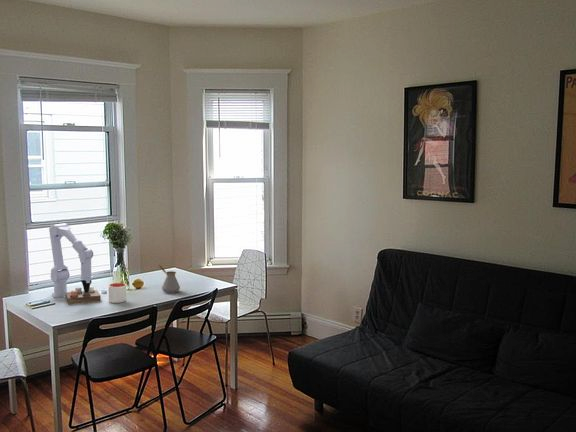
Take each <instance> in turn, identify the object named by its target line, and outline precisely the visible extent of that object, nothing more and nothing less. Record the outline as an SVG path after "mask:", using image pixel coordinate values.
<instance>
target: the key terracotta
mask: <svg viewBox="0 0 576 432" xmlns="http://www.w3.org/2000/svg"><path fill="white" fill-rule="evenodd" d="M70 292H71V298H73V297H77V291H75V290H71V291H70Z"/></svg>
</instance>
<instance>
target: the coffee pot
mask: <svg viewBox="0 0 576 432" xmlns="http://www.w3.org/2000/svg"><path fill="white" fill-rule="evenodd" d="M157 268H160V269H161V271H162V272H163V273H165V275H166V277H165V279H164V281H163V284H162V285H161V289H162V291H163V292H164V293H165V292H166V293H165V294H176V293H177V292H179V290H180V288H181V286H180V284H179V282H178V278H177V277H176V273H177V271H172V270H171V271H167V270H165V269H164V268H163V267H162V265H161V264H158V266H157ZM175 292H176V293H175Z"/></svg>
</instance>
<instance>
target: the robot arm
mask: <svg viewBox="0 0 576 432" xmlns="http://www.w3.org/2000/svg"><path fill="white" fill-rule="evenodd" d="M48 231H49V238H50V245H51V252H52V260H53V267H52V268H51V269H50V279H51V281H52V283H53V292H52V295H53V297H54V298H61V297H62V298H63V297H65V293H66V292H68V289H67V287H68V286H67V283H68V282H67V281H68V279H69V278H70V272H69V268H68V266H66V265H65V264H64V257H63V250H62V249H63V248H62V241H61V239H62V238H63V237H65V238H66V239H67V240H68V241H69V242H70V243H71V244H72V249H74V250H75V252H76V253H77V255H78V256H77V257H78V258H79V261H80V282H81V284H82V287H83V291H84V292H85V293H86V292H89V288H90V286H91V284H92V282H93V281H92V279H94V276H93V275H92V259H93V257H94V251H93V250H92V249H91V248H89V247H87V246H86V245H85V244H84V243H83V242H82V240H78V239H77V238H76V236H75V235H74V233H73V232H72V231H71V227H70V226H69V224H68V223H65V222H64V223H58V224H51V226H50V227H49V228H48Z"/></svg>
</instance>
